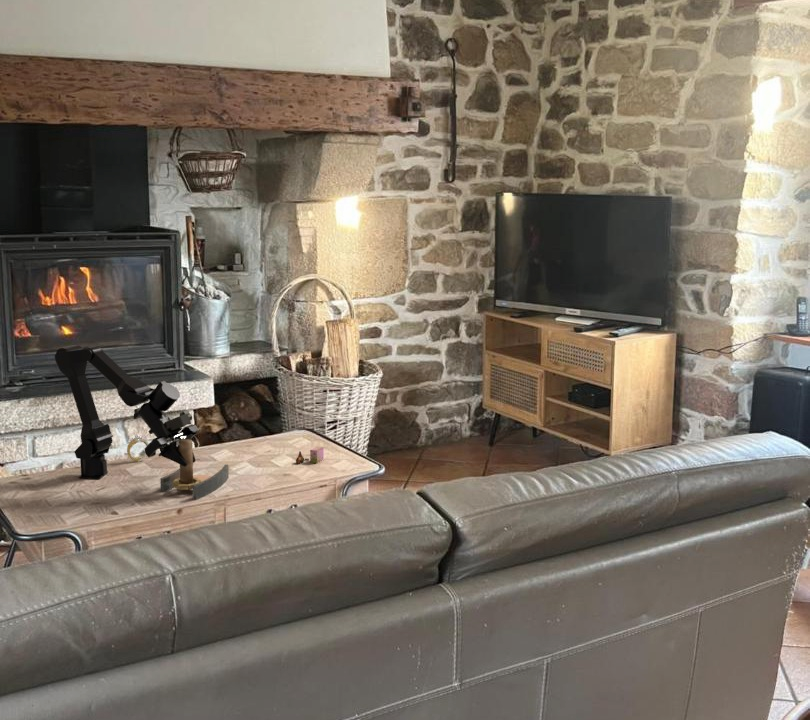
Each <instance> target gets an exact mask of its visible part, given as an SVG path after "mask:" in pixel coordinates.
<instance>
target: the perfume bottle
mask: <svg viewBox="0 0 810 720" xmlns="http://www.w3.org/2000/svg"><path fill="white" fill-rule="evenodd" d="M309 451H310V453H309V457H310V458H309V457H304V456H303V454H302V451H301V450H300V451H299V452H298V455H297V458H296V459H295V463H296V464H297V465H301V464H303V463H305V461H310V462H312V463H311V464H316V463H317V464H319V463H321V462H323V461H324V460H323V459H324V458H325V457H324V456H325V455H324V447H323V446H315V447H313V448H311V449H310V450H309ZM309 459H310V460H309ZM322 460H323V461H322ZM320 461H321V462H320ZM310 462H309V463H310ZM318 462H319V463H318ZM300 463H301V464H300Z"/></svg>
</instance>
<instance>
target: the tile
mask: <svg viewBox="0 0 810 720" xmlns="http://www.w3.org/2000/svg"><path fill="white" fill-rule="evenodd" d="M212 476H213V475H212V474H211V475H210V474H209V475H208V474H207V475H206V474H194V475H193V477H195V478H198V479H200V480H201V482H202V481H204V480H206V479H208V478H210V477H212Z"/></svg>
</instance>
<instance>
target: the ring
mask: <svg viewBox="0 0 810 720" xmlns="http://www.w3.org/2000/svg"><path fill="white" fill-rule="evenodd" d="M140 442H141V443H143V444H144V445H145V447H146V446H147V445H148V444H149V443H150V442H148V441H147V440H146V439H143V436H138V435H136V436H134V437H132V439H130V440H129V442H128V444H127V446H126V452H127V456H128V457H129V459H130V460H132V461H134V462H139V463H140V462H141V461H143V460H145V459H146V458H147V457H148V456H147V455H146V454H144V455H143V456H142V457H137V458H135V457H132V454H131V450H132V447H133V446H134V445H136V444H137V443H140Z"/></svg>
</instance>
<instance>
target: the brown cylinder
mask: <svg viewBox="0 0 810 720" xmlns="http://www.w3.org/2000/svg"><path fill="white" fill-rule="evenodd" d="M179 452H180V453H181V455H182V456H183V458H184V459H185V461H186V462H187V465H186V466H185V467H184V466H182V465H180V464H179V469H180V478H179V479H175V480H174V481H173V482H172V485H173V487H174V488H173V489H176V490H184V491H185V490H186V491H188V490H193V485H195V484H198V483H200V482H201V480H200V479H198V478H195V477H194V464H193V453H194V450H193V440H192V439H191V440H190V439H183V440H180V441H179Z"/></svg>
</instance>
